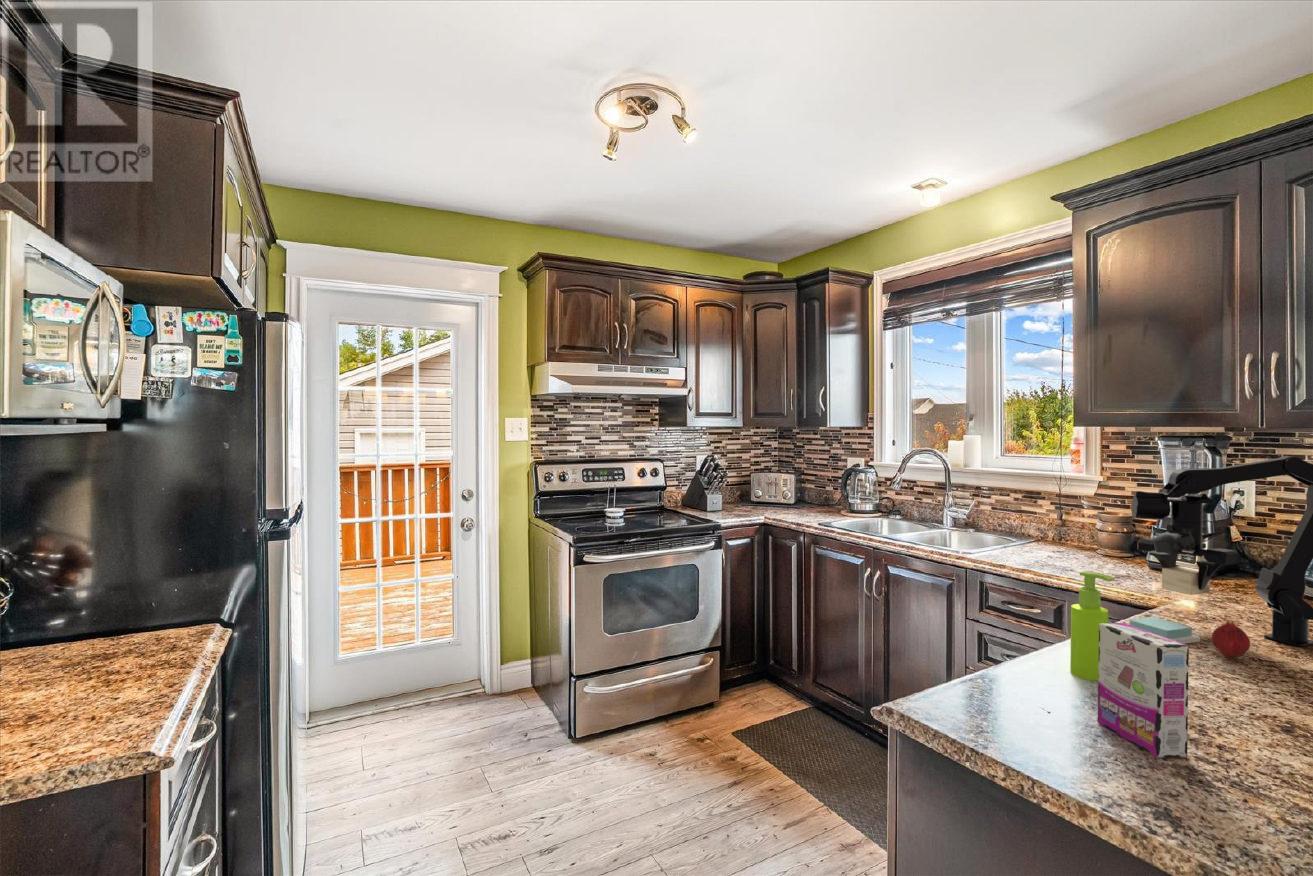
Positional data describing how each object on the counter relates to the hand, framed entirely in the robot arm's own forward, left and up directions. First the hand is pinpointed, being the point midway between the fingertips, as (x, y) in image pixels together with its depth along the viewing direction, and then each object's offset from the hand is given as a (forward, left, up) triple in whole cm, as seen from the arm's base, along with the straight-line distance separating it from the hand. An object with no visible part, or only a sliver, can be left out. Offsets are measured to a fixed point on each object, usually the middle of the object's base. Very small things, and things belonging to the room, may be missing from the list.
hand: (1185, 586), depth 146 cm
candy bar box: (+67, +34, -10) cm, 76 cm away
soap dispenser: (+50, +14, -10) cm, 53 cm away
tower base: (+12, +2, -10) cm, 16 cm away
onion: (+13, +16, -10) cm, 23 cm away
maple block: (0, 0, -1) cm, 1 cm away
